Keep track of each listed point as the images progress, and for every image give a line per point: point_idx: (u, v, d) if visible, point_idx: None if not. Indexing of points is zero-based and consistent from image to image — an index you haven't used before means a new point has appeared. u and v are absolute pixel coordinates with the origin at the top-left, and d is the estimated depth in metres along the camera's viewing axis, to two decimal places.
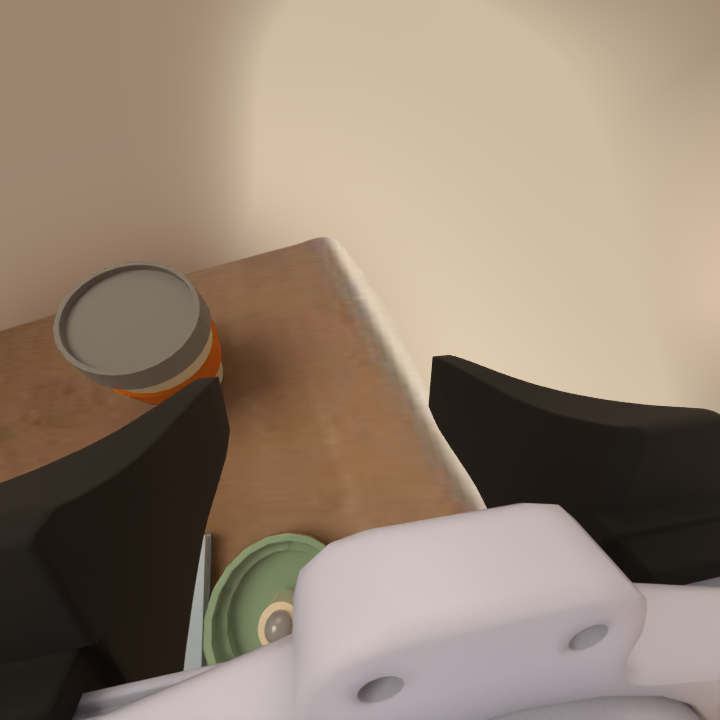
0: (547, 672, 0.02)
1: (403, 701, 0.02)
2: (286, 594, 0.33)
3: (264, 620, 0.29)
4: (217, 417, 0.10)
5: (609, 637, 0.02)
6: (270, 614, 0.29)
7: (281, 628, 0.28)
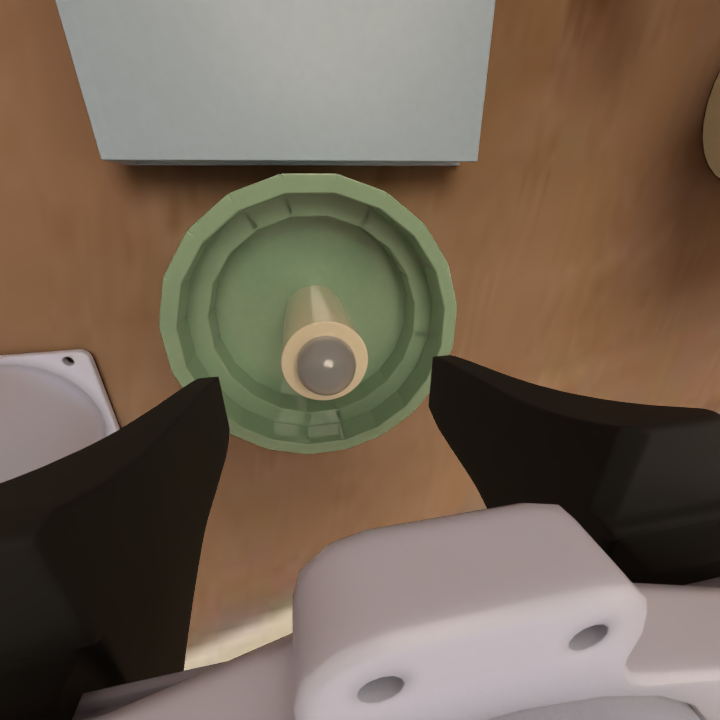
0: (547, 671, 0.02)
1: (403, 700, 0.02)
2: None
3: (339, 335, 0.13)
4: (217, 417, 0.10)
5: (611, 635, 0.02)
6: (351, 350, 0.13)
7: (332, 386, 0.13)
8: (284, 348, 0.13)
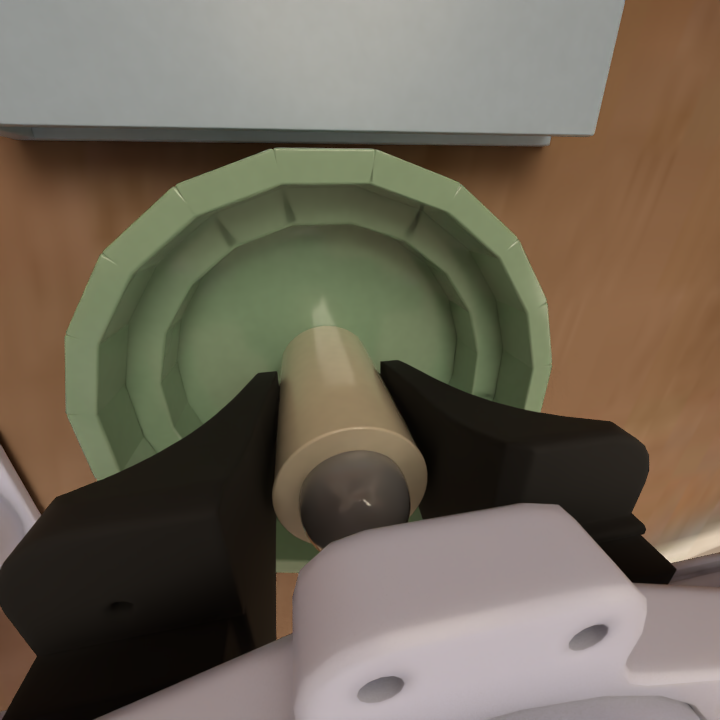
0: (546, 672, 0.02)
1: (403, 700, 0.02)
2: None
3: (381, 448, 0.07)
4: None
5: (609, 637, 0.02)
6: (403, 477, 0.07)
7: None
8: (277, 475, 0.07)
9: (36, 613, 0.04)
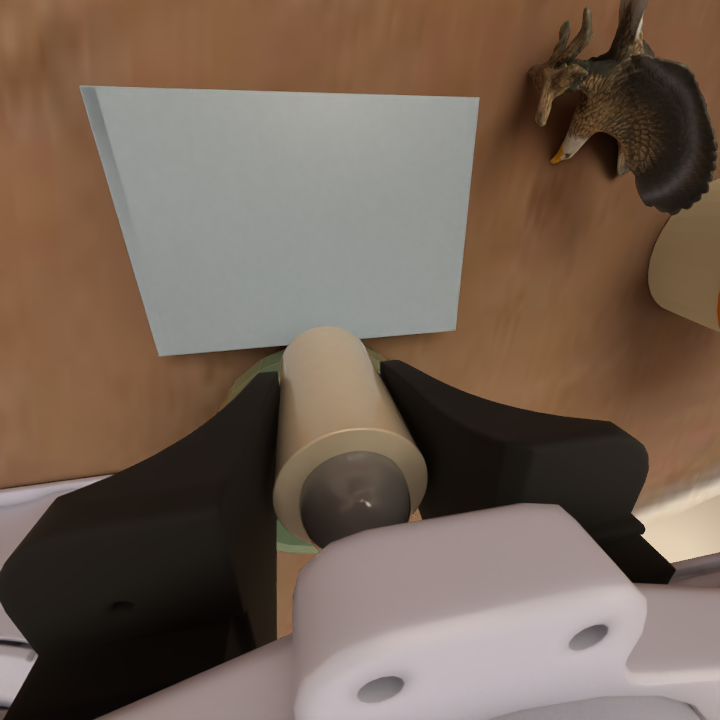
0: (547, 671, 0.02)
1: (403, 700, 0.02)
2: None
3: (381, 448, 0.07)
4: None
5: (611, 635, 0.02)
6: (403, 477, 0.07)
7: None
8: (278, 475, 0.07)
9: (37, 613, 0.04)
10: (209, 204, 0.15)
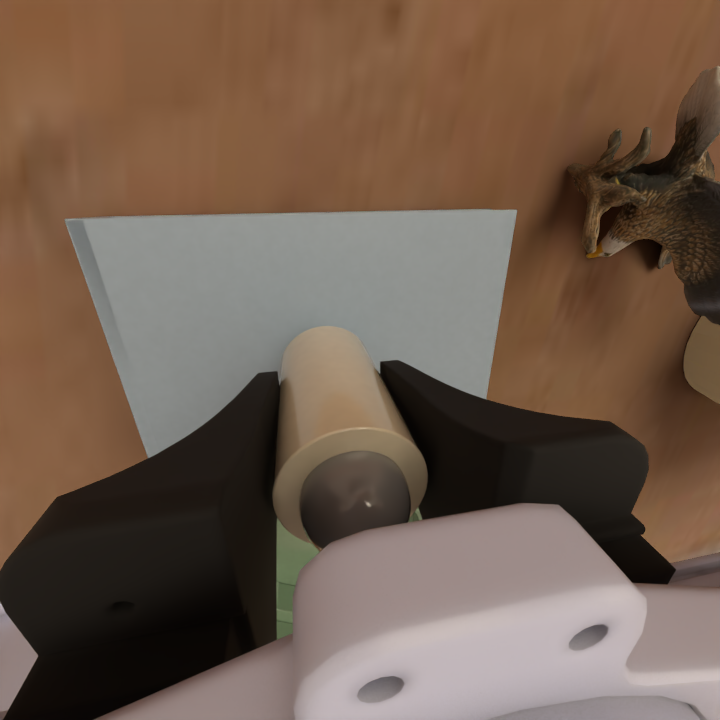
0: (547, 672, 0.02)
1: (403, 701, 0.02)
2: None
3: (381, 448, 0.07)
4: None
5: (611, 635, 0.02)
6: (403, 477, 0.07)
7: None
8: (278, 475, 0.07)
9: (37, 613, 0.04)
10: (213, 329, 0.13)
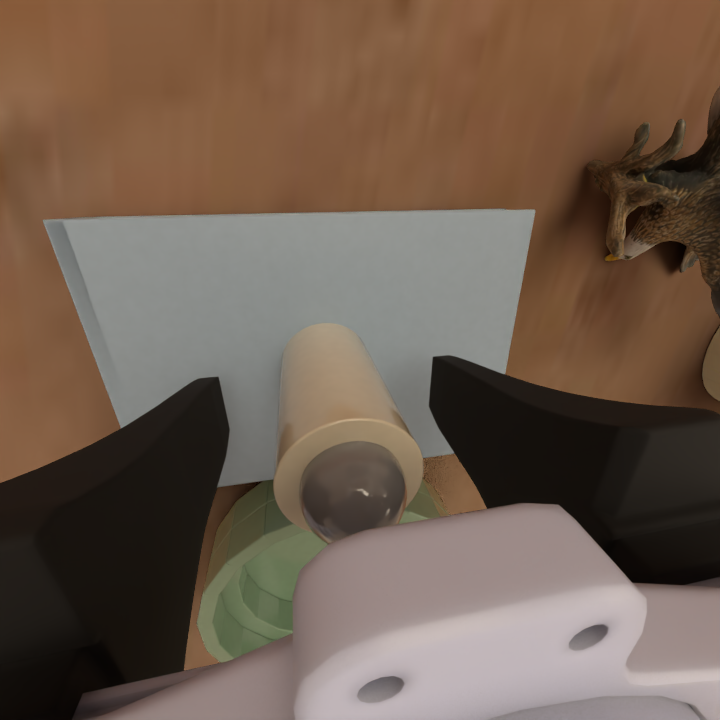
0: (547, 672, 0.02)
1: (403, 701, 0.02)
2: None
3: (378, 438, 0.07)
4: (217, 417, 0.10)
5: (611, 637, 0.02)
6: (400, 467, 0.07)
7: None
8: (279, 464, 0.07)
9: None
10: (207, 339, 0.12)
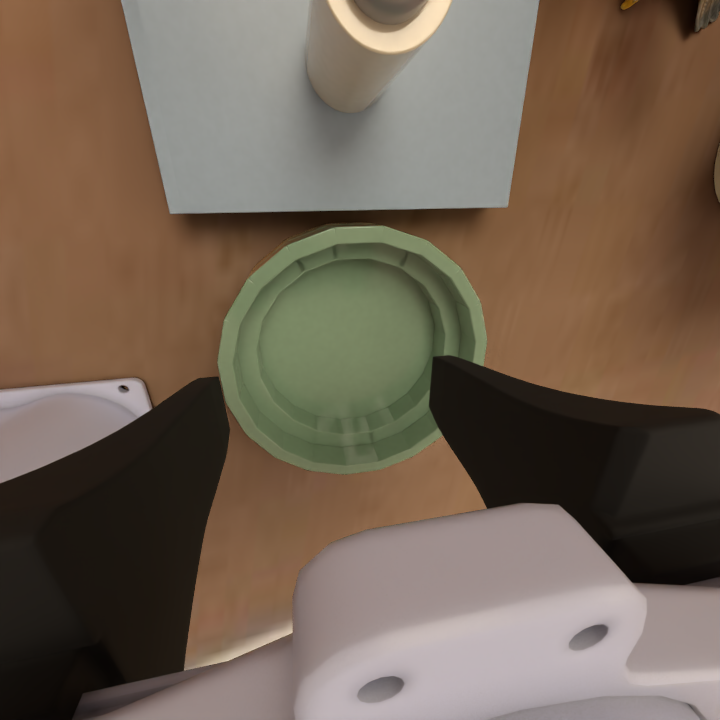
0: (547, 672, 0.02)
1: (403, 700, 0.02)
2: None
3: None
4: (217, 417, 0.10)
5: (611, 637, 0.02)
6: None
7: None
8: None
9: None
10: (234, 4, 0.12)
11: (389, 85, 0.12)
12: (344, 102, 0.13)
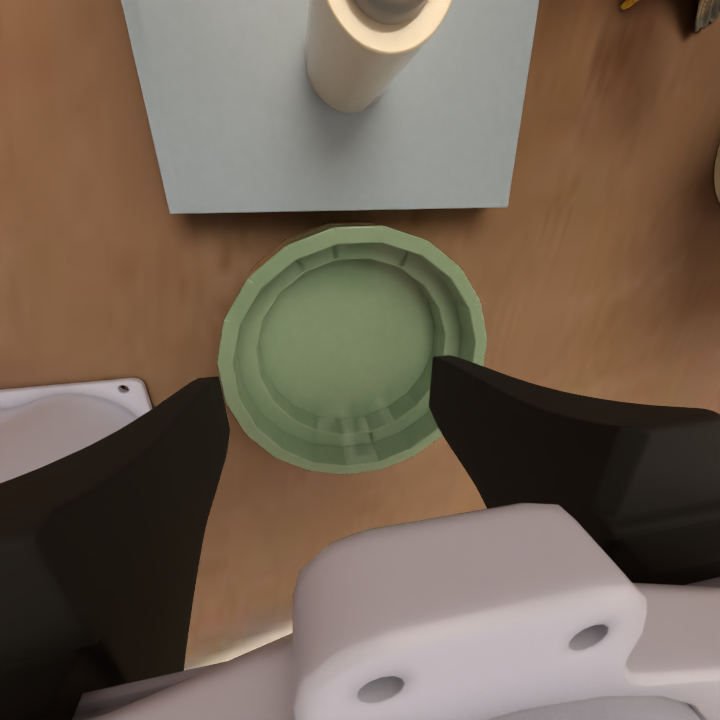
0: (547, 672, 0.02)
1: (403, 700, 0.02)
2: None
3: None
4: (217, 417, 0.10)
5: (611, 637, 0.02)
6: None
7: None
8: None
9: None
10: (234, 4, 0.12)
11: (389, 85, 0.12)
12: (344, 102, 0.13)
